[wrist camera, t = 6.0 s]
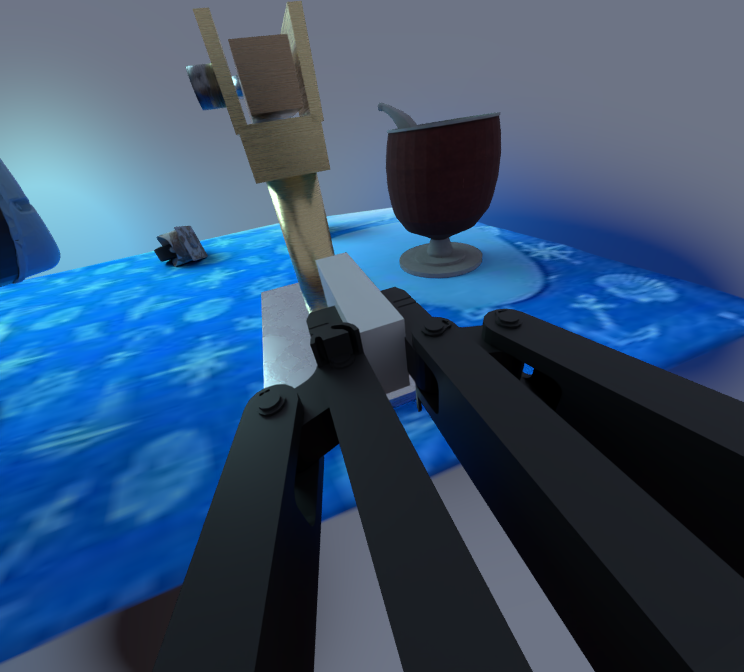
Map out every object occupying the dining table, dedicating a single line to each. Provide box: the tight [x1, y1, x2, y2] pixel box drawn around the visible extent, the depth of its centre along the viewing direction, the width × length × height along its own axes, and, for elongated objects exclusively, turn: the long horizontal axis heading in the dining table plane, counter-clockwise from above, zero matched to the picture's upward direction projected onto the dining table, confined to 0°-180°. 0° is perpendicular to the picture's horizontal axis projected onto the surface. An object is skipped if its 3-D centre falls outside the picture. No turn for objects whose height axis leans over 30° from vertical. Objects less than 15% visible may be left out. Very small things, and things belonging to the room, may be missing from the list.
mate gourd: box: [378, 103, 501, 278], centre depth 37 cm, size 16×14×20 cm
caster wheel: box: [154, 226, 207, 267], centre depth 59 cm, size 7×11×10 cm
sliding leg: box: [186, 1, 335, 314], centre depth 19 cm, size 4×6×21 cm
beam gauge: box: [228, 34, 416, 407], centre depth 25 cm, size 26×14×22 cm, turn 19°
